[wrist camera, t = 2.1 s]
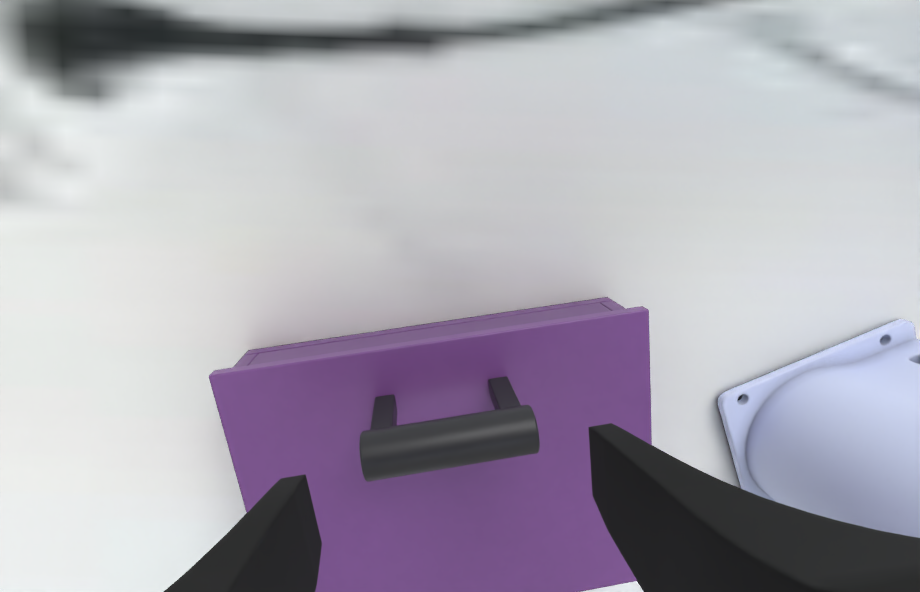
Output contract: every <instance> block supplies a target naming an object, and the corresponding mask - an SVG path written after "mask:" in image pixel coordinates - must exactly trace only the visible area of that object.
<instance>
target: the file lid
mask: <svg viewBox="0 0 920 592" xmlns="http://www.w3.org/2000/svg"><path fill="white" fill-rule="evenodd" d="M209 379H210V383H211V386H212V390H213V394H214V397H215V401H216V404H217V408H218V412H219V415H220V419H221V422H222V426H223V429H224V433H225V437H226V440H227V444H228V447H229V451H230V454H231V458H232V462H233V465H234V469H235V472H236V476H237V479H238V483H239V487H240V490H241V494H242V497H243V501H244V505H245V508H246V512H247V513H248V512H249V511H250V510H251V508H252V507H253V506H254V505H255V504H256V503H257V502H258V501H259V500H260V499H261V498H262V497H263V496H264V495H265V494H266V493H267V492H268V491H269V490H270V488H271V487H272V486H273V485H274V484H275V483H276V482H278V481H279V480H280V479H281V478H286V477H292V476H298V475H304V474H306V478H307V482H308V486H309V491H310V495H311V499H312V503H313V507H314V512H315V516H316V520H317V524H318V529H319V533H320V537H321V541H322V547H321V556H320V565H319V572H318V580H317V586H316V590H315V592H580V591H586V590H591V589H596V588H601V587H607V586H612V585H617V584H623V583H628V582H633V581H637V579H636V578H635V576H634V574H633V573H632V571H631V569H630V568H629V566H628V564H627V563H626V561H625V559H624V558H623V556H622V554H621V553H620V551H619V549H618V547H617V546H616V544H615V542H614V541H613V539H612V537H611V535H610V534H609V532H608V530H607V528H606V525H605V523H604V521H603V519H602V516H601V514H600V512H599V509H598V507H597V505H596V502H595V500H594V498H593V495H592V478H591V462H590V445H589V428H588V427H591V426H597V425H603V424H609V423H612V424H614V425H616V426H618V427H620V428H622V429H624V430H626V431H627V432H629V433H631V434H633V435H634V436H636V437H638V438H640V439H642V440H643V441H645V442H647V443H649V444H650V445H652V442H651V396H650V351H649V311H648V309H646V308H645V307H643V306H641V307H634V308H627V309H621V310H614V311H607V312H601V313H594V314H587V315H581V316H574V317H568V318H561V319H554V320H548V321H541V322H534V323H528V324H521V325H514V326H508V327H501V328H494V329H488V330H481V331H474V332H468V333H461V334H454V335H448V336H441V337H434V338H428V339H421V340H414V341H408V342H401V343H394V344H388V345H381V346H374V347H368V348H361V349H354V350H348V351H341V352H334V353H328V354H321V355H314V356H308V357H301V358H294V359H288V360H281V361H274V362H268V363H261V364H254V365H248V366H241V367H234V368H228V369H221V370H215V371H213V372H212V373H211V374H210V375H209Z"/></svg>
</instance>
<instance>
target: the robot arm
mask: <svg viewBox="0 0 920 592" xmlns="http://www.w3.org/2000/svg"><path fill="white" fill-rule="evenodd" d="M881 338H882V339H881ZM880 339H881V341H880ZM741 395H743V396H742V398H741V399H740V400H739V401H738V398H739V396H741ZM718 406H719V410H720V414H721V417H722V421H723V424H724V428H725V432H726V435H727V439H728V442H729V446H730V450H731V453H732V457H733V460H734V464H735V467H736V471H737V475H738V478H739V482H740V485H741V489H740V488H738V487H735V486H733V485H730V484H728V483H726V482H723V481H721V480H719V479H717V478H714V477H712V476H710V475H708V474H706V473H704V472H702V471H700V470H698V469H696V468H693V467H691V466H689V465H688V464H686V463H684V462H682V461H680V460H678V459H676V458H674V457H672V456H670V455H668V454H667V453H665V452H663V451H661V450H659V449H657V448H656V447H654V446H652V445H650V444H649V443H647V442H645V441H643V440H642V439H640V438H638V437H636V436H634V435H633V434H631V433H629V432H627V431H626V430H624V429H622V428H620V427H618V426H616V425H614V424H612V423H609V424H603V425H597V426H591V427H588V428H589V445H590V462H591V478H592V495H593V498H594V500H595V502H596V505H597V507H598V509H599V512H600V514H601V516H602V519H603V521H604V523H605V525H606V528H607V530H608V532H609V534H610V535H611V537H612V539H613V541H614V542H615V544H616V546H617V547H618V549H619V551H620V553H621V554H622V556H623V558H624V559H625V561H626V563H627V564H628V566H629V568H630V569H631V571H632V573H633V574H634V576H635V578H636V579H637V581H638V583H639V585H640V586H641V588H642V590H643V591H644V592H920V340H918V339H916V332H915V327H914V324H913V323H912V322H910V321H907V320H903V319H898V320H895V321H893V322H890V323H888V324H886V325H883V326H881V327H878V328H876V329H874V330H871V331H869V332H866V333H864V334H862V335H859V336H857V337H854V338H852V339H850V340H847V341H845V342H842V343H840V344H838V345H835V346H833V347H831V348H828V349H826V350H823V351H821V352H819V353H816V354H814V355H811V356H809V357H807V358H804V359H802V360H799V361H797V362H795V363H792V364H790V365H787V366H785V367H783V368H780V369H778V370H775V371H773V372H771V373H768V374H766V375H763V376H761V377H759V378H756V379H754V380H751V381H749V382H747V383H744V384H742V385H739V386H737V387H735V388H732V389H730V390H727V391H725V392H724V393H722V394H721V395H720V396H719V399H718ZM321 547H322V541H321V537H320V533H319V529H318V524H317V520H316V516H315V512H314V507H313V503H312V499H311V495H310V491H309V486H308V482H307V478H306V474H304V475H298V476H292V477H286V478H281V479H280V480H279V481H278V482H276V483H275V484H274V485H273V486H272V487H271V488H270V490H269V491H268V492H267V493H266V494H265V495H264V496H263V497H262V498H261V499H260V500H259V501H258V502H257V503H256V504H255V505H254V506H253V507H252V508H251V510H250V511H249V512H248V513H247V514H246V515H245V516H244V517H243V518H242V519H241V520H240V521H239V522H238V523H237V524H236V525H235V526H234V527H233V528H232V529H231V530H230V531H229V532H228V533H227V534H226V535H225V536H224V537H223V538H222V539H221V540H220V541H219V542H218V543H217V544H216V545H215V546H214V547H213V548H212V549H211V550H210V551H209V552H208V553H206V554H205V555H204V556H203V557H202V558H201V559H200V560H199V561H198V562H197V563H196V564H195V565H194V566H193V567H192V568H191V569H190V570H188V571H187V572H186V573H185V574H184V575H183V576H182V577H180V578H179V579H178V580H177V581H176V582H175V583H174V584H172V585H171V586H170V587H169V588H168V589H166V590H165V591H164V592H315V590H316V586H317V580H318V572H319V565H320V556H321Z"/></svg>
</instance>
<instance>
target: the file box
mask: <svg viewBox="0 0 920 592" xmlns="http://www.w3.org/2000/svg"><path fill="white" fill-rule="evenodd" d="M621 309H625V308H624V307H622V306H621V305H619V304H617V303H616V302H614V301H612V300H611V299H610V298H608V297H605V298H598V299H592V300H585V301H578V302H571V303H565V304H558V305H551V306H544V307H538V308H531V309H524V310H517V311H511V312H504V313H497V314H490V315H484V316H477V317H470V318H463V319H457V320H450V321H443V322H436V323H430V324H423V325H416V326H409V327H403V328H396V329H389V330H382V331H376V332H369V333H362V334H355V335H349V336H342V337H335V338H328V339H322V340H315V341H308V342H301V343H294V344H288V345H281V346H274V347H267V348H261V349H254V350H249V351H247V352H246V354H245V355H244V356H243V357H242V358H241V359H240V360H239V361H238V362H237V363H236V365H235V366H234V367H241V366H248V365H254V364H261V363H268V362H274V361H281V360H288V359H294V358H301V357H308V356H314V355H321V354H328V353H334V352H341V351H348V350H354V349H361V348H368V347H374V346H381V345H388V344H394V343H401V342H408V341H414V340H421V339H428V338H434V337H441V336H448V335H454V334H461V333H468V332H474V331H481V330H488V329H494V328H501V327H508V326H514V325H521V324H528V323H534V322H541V321H548V320H554V319H561V318H568V317H574V316H581V315H587V314H594V313H601V312H607V311H614V310H621ZM234 367H233V368H234Z"/></svg>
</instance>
